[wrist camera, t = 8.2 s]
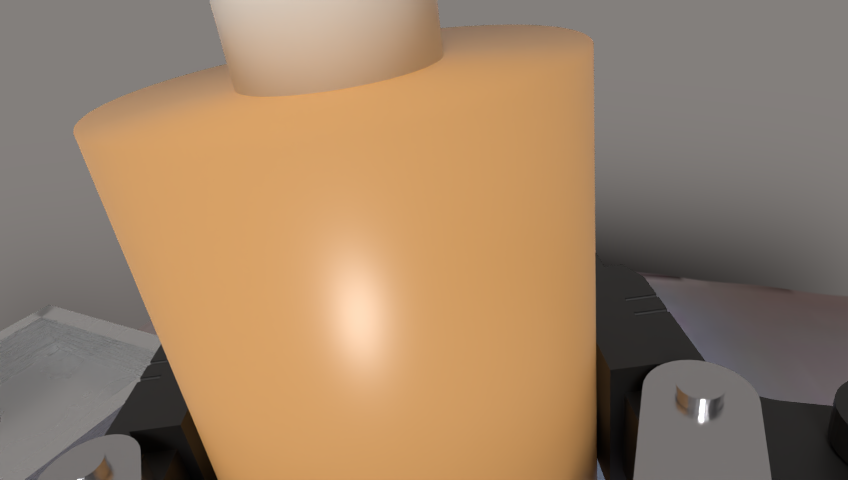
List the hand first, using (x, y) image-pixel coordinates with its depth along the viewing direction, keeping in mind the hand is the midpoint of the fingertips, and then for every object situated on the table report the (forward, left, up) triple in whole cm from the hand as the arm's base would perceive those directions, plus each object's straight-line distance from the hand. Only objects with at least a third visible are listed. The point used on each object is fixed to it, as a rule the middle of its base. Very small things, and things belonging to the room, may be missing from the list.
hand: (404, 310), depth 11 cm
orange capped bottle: (+2, +1, -7) cm, 7 cm away
